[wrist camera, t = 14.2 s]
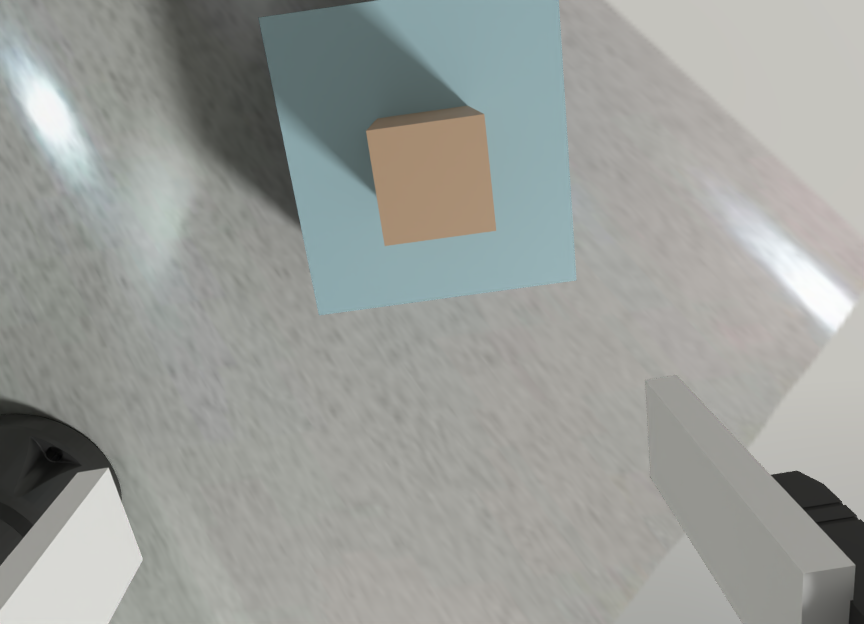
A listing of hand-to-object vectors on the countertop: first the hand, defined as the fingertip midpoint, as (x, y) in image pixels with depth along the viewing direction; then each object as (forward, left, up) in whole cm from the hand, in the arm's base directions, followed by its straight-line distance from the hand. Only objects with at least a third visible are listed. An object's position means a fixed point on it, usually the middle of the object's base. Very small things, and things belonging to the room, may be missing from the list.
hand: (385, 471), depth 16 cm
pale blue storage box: (+2, +5, -37) cm, 37 cm away
